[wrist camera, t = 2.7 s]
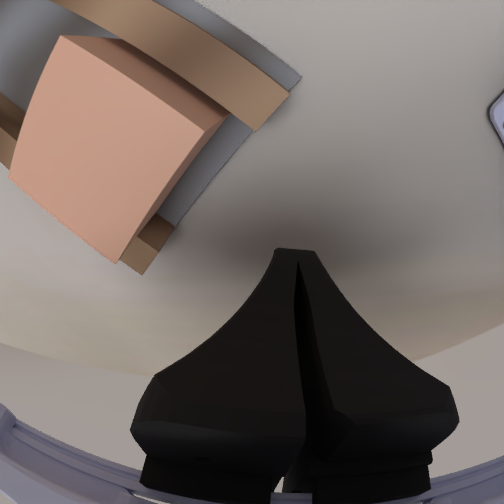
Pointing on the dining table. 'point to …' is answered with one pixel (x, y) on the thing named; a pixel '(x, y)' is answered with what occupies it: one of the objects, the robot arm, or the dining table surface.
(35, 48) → the walnut chute
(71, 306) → the dining table surface
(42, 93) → the block
